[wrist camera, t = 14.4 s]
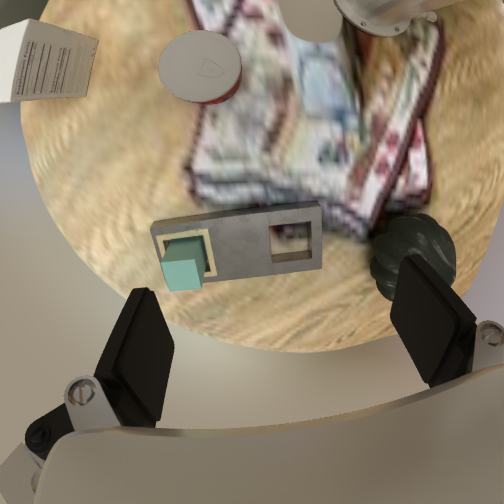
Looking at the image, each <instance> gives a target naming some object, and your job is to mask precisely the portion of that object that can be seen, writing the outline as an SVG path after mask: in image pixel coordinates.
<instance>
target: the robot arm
mask: <svg viewBox="0 0 504 504" xmlns="http://www.w3.org/2000/svg"><path fill="white" fill-rule="evenodd" d="M462 1H465V0H334V3H335V5H336V7H337V8H338V10H339V11H340V13H341V14H342V15H343V16H344V17H345V18H346V19H347V20H348V21H349V22H350V23H351V24H353V25H354V26H355V27H357V28H358V29H360V30H362V31H364V32H366V33H368V34H371V35H374V36H379V37H392V36H395V35H398V34H400V33H402V32H404V31H405V30H406V29H407V28H408V26H409V24H410V22H411V19H413V18H416V19H419V18H423V19H426V20H429V21H432V22H435V21H436V20H437V15H436V13H435V12H434V11H433V10H436V9H439V8H442V7H445V6H449V5H452V4H455V3H459V2H462ZM502 2H503V3H504V0H502ZM361 24H362V25H361ZM390 319H391V322H392V324H393V325H394V327H395V329H396V331H397V332H398V334H399V336H400V338H401V339H402V341H403V343H404V345H405V347H406V349H407V351H408V352H409V354H410V356H411V358H412V360H413V362H414V364H415V366H416V368H417V370H418V372H419V374H420V376H421V378H422V380H423V381H424V382H425V383H428V385H429V387H430V389H428V390H425V391H422V392H419V393H416V394H413V395H410V396H407V397H404V398H401V399H398V400H395V401H391V402H388V403H384V404H381V405H377V406H373V407H369V408H366V409H361V410H357V411H353V412H349V413H344V414H339V415H335V416H330V417H324V418H319V419H313V420H307V421H301V422H294V423H286V424H278V425H269V426H259V427H246V428H227V429H166V428H163V429H162V428H155V426H156V421H160V419H161V414H162V409H163V404H164V398H165V393H166V388H167V383H168V378H169V373H170V368H171V363H172V359H173V354H174V341H173V339H172V336H171V334H170V332H169V329H168V326H167V324H166V321H165V319H164V316H163V314H162V311H161V309H160V306H159V303H158V301H157V298H156V295H155V293H154V291H150V290H149V288H147V287H145V288H134V289H133V290H132V291H131V293H130V295H129V297H128V299H127V301H126V303H125V305H124V307H123V309H122V311H121V313H120V316H119V318H118V320H117V322H116V324H115V326H114V328H113V330H112V333H111V335H110V337H109V339H108V342H107V344H106V346H105V349H104V351H103V353H102V355H101V358H100V360H99V362H98V365H97V367H96V370H95V373H94V376H89V375H84V376H80V377H77V378H75V379H74V380H73V381H71V382H70V383H69V384H68V386H67V388H66V390H65V393H64V401H65V403H63V404H62V405H60V406H59V407H57V408H55V409H54V410H52V411H50V412H49V413H48V414H46V415H44V416H42V417H41V418H39V419H37V420H36V421H34V422H33V423H32V424H30V426H29V427H28V429H27V431H26V433H25V444H23V443H21V444H20V445H19V446H18V447H17V448H16V449H15V450H14V451H13V452H12V453H11V454H10V456H9V457H8V458H7V459H6V460H5V461H4V462H3V463H2V465H0V492H1V493H2V495H3V497H4V499H5V500H6V502H7V504H504V328H503V327H502V326H501V325H500V324H498V323H496V322H494V321H489V320H487V321H483V322H481V323H479V325H478V326H477V325H476V323H475V321H476V319H477V318H476V317H475V315H474V314H473V313H472V312H471V310H470V309H469V308H468V307H467V306H466V304H465V303H464V302H463V301H462V300H461V298H460V297H459V296H458V295H457V294H456V293H455V292H454V290H453V289H452V288H451V287H450V286H449V285H448V284H447V283H446V281H445V280H444V279H443V278H442V277H441V276H440V275H439V274H438V273H437V272H436V271H435V270H434V268H433V267H432V266H431V265H430V264H429V263H428V262H427V261H426V260H425V259H424V258H423V257H422V256H421V255H420V254H412V255H406V256H405V257H404V259H403V260H401V262H400V267H399V272H398V278H397V283H396V288H395V293H394V298H393V303H392V307H391V312H390Z"/></svg>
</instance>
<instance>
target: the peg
mask: <svg viewBox="0 0 504 504" xmlns="http://www.w3.org/2000/svg"><path fill="white" fill-rule="evenodd" d="M206 263H207V254H206V249H205V243H204V238H203V235H199V236H192V237H184V238H177V239H172V240H171V242H170V244H169V246H168V248H167V250H166V252H165V254H164V256H163V259H162V261H161V266H162V269H163V273H164V276H165V279H166V283H167V286H168V289H169V291H180V290H193V289H201V288H202V283H203V278H204V273H205V268H206Z"/></svg>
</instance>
